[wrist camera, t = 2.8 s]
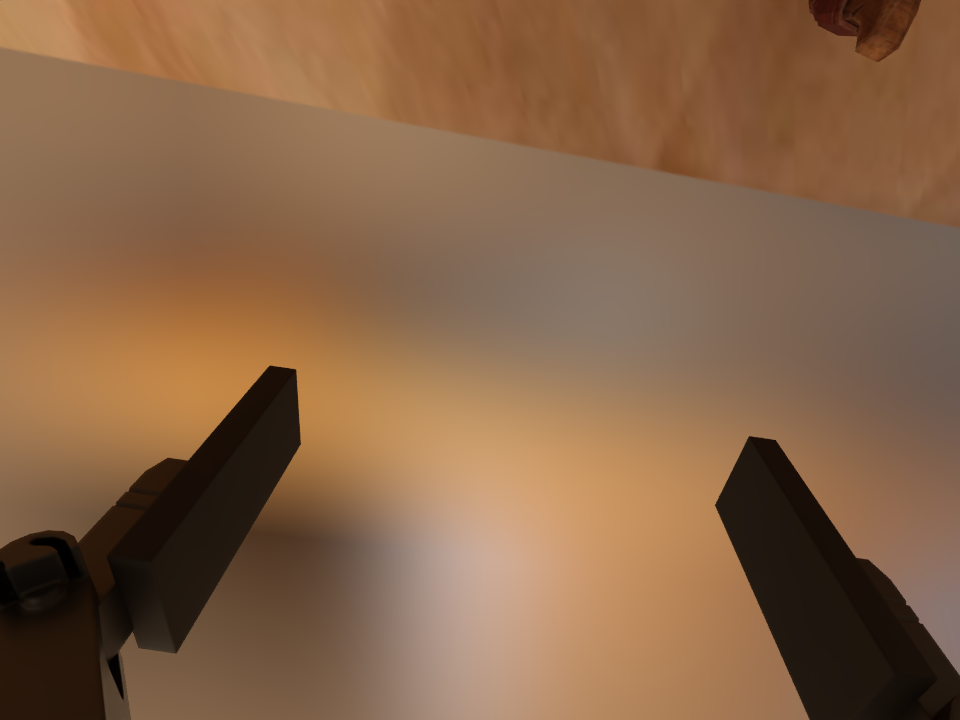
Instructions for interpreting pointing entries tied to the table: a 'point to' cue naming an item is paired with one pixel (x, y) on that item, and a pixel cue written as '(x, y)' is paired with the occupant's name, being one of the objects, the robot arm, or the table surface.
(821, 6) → the mug
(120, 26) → the table surface
